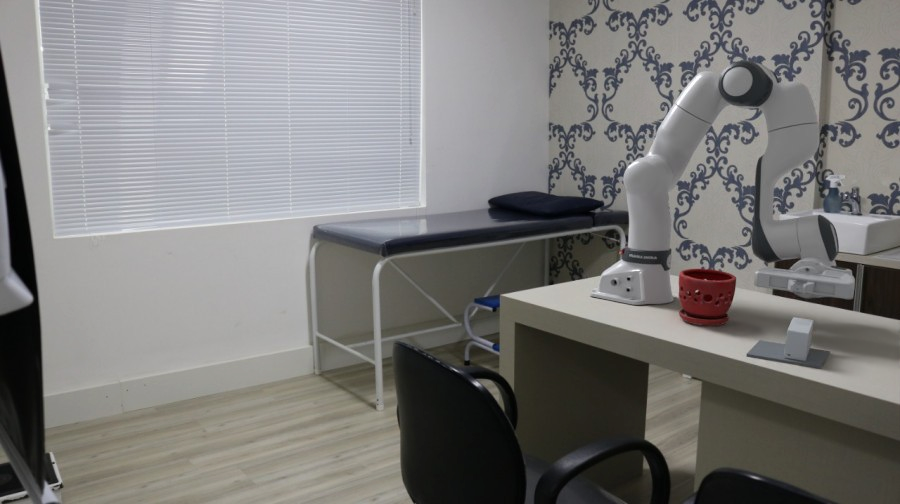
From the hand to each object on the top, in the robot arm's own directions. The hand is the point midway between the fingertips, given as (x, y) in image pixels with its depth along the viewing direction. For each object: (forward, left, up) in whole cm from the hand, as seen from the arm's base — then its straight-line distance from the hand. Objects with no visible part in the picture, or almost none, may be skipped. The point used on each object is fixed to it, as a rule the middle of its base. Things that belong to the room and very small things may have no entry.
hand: (797, 289), depth 159 cm
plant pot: (-22, +9, -13) cm, 27 cm away
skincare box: (+2, 0, -9) cm, 9 cm away
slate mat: (0, -7, -13) cm, 15 cm away
